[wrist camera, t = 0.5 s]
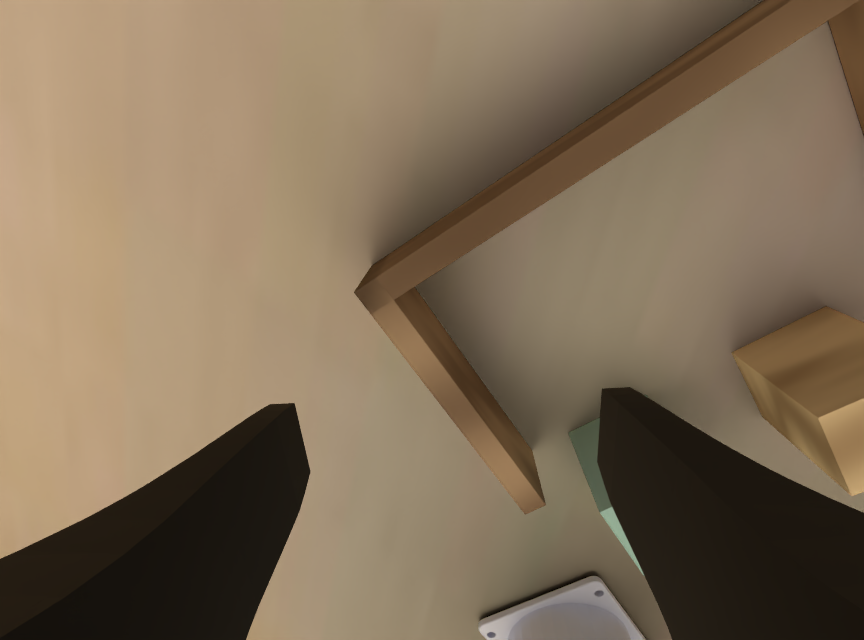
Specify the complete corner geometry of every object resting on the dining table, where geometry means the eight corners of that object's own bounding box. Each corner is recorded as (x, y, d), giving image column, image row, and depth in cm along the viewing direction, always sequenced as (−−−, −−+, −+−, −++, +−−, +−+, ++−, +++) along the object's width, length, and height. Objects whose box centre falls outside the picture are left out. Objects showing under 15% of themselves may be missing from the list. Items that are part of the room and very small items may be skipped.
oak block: (852, 376, 20) (975, 448, 15) (762, 416, 21) (851, 495, 16) (825, 305, 18) (950, 360, 14) (730, 352, 19) (818, 418, 15)
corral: (932, 254, 17) (1042, 280, 14) (514, 459, 22) (525, 514, 19) (844, -55, 14) (962, -115, 11) (371, 266, 19) (353, 292, 15)
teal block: (679, 453, 22) (741, 538, 17) (604, 486, 23) (643, 575, 18) (645, 394, 20) (701, 468, 16) (568, 432, 21) (599, 512, 17)
